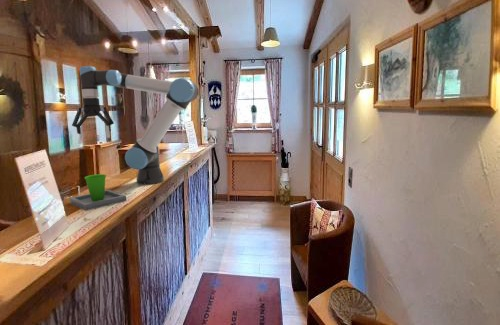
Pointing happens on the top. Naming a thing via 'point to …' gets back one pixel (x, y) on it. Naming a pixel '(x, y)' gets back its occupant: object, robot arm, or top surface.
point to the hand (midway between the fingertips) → (95, 139)
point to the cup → (96, 186)
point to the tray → (88, 204)
